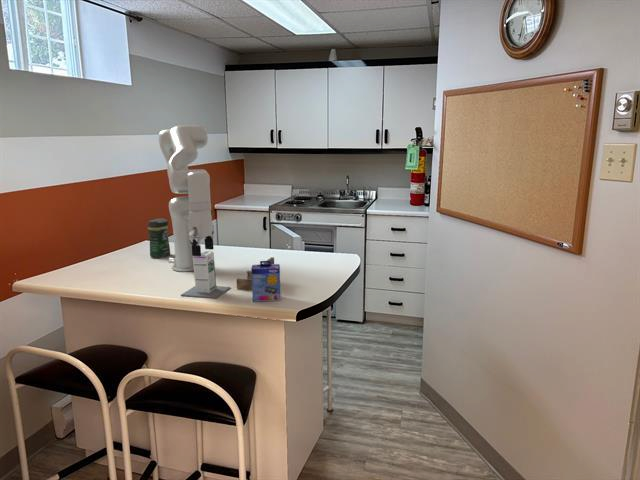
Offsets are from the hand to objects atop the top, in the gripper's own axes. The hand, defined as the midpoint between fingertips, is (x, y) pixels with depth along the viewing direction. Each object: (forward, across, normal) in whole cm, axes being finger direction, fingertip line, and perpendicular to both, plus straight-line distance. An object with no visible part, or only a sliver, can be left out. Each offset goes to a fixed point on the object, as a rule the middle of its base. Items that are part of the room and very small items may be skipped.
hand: (203, 252), depth 172 cm
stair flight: (+15, -10, +16) cm, 24 cm away
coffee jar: (+17, -45, -47) cm, 68 cm away
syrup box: (+15, +1, 0) cm, 15 cm away
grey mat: (+15, +1, +1) cm, 15 cm away
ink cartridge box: (+15, +4, +26) cm, 30 cm away
